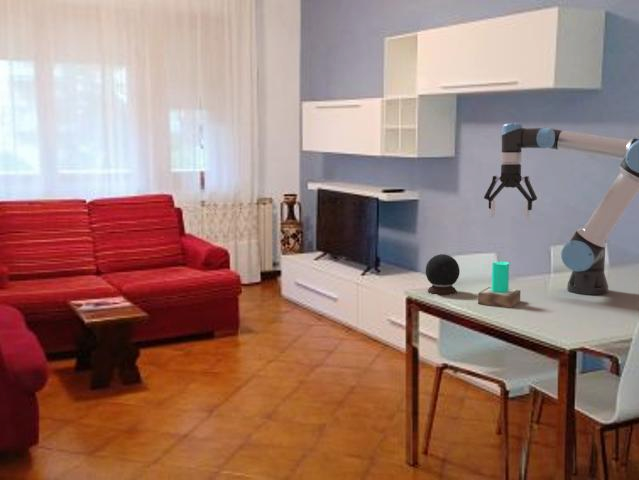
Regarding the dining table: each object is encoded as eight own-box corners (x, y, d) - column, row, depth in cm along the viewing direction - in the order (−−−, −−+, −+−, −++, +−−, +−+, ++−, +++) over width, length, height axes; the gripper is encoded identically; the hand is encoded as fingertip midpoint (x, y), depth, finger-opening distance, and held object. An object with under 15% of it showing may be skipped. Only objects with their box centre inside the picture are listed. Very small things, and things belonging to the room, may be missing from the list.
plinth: (520, 300, 266) (520, 289, 265) (510, 307, 256) (511, 295, 255) (488, 297, 272) (488, 286, 271) (478, 303, 262) (478, 292, 261)
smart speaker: (436, 296, 274) (436, 258, 272) (419, 290, 286) (419, 253, 284) (465, 293, 279) (466, 255, 277) (447, 287, 291) (448, 251, 289)
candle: (507, 289, 266) (507, 257, 264) (509, 292, 260) (510, 260, 258) (490, 289, 266) (491, 257, 265) (492, 292, 260) (493, 260, 259)
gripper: (546, 163, 276) (544, 218, 279) (482, 163, 289) (481, 215, 291) (541, 164, 269) (539, 220, 272) (476, 163, 282) (475, 217, 285)
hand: (509, 218), depth 282 cm, fingers open, 13 cm apart
